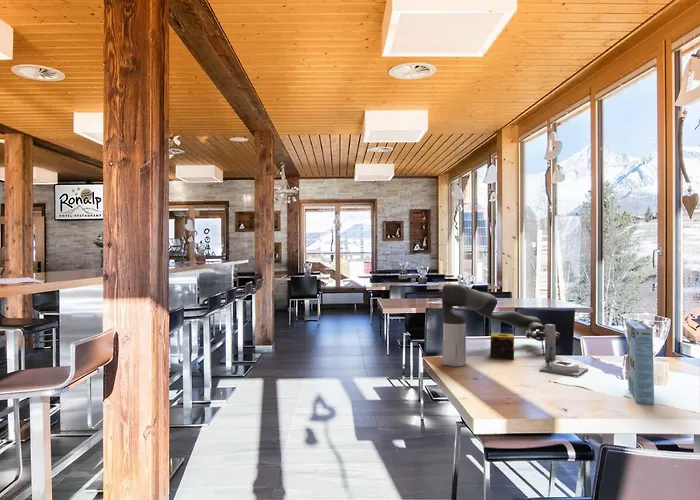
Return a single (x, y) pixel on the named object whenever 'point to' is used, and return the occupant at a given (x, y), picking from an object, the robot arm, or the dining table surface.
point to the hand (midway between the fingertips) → (545, 337)
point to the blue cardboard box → (640, 362)
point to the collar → (564, 368)
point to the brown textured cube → (502, 346)
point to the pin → (549, 342)
